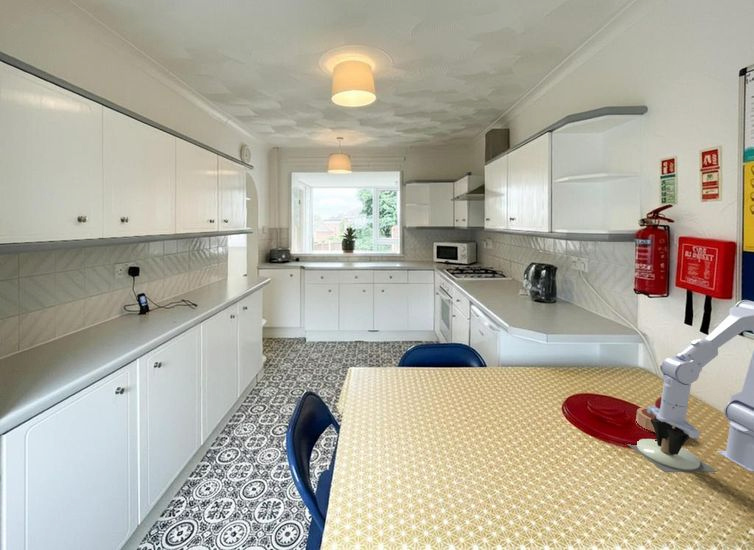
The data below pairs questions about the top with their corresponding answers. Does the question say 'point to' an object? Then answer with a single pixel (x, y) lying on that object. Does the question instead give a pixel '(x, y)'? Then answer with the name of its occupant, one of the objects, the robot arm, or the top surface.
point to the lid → (667, 454)
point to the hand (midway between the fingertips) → (667, 449)
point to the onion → (658, 402)
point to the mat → (664, 468)
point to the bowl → (645, 418)
